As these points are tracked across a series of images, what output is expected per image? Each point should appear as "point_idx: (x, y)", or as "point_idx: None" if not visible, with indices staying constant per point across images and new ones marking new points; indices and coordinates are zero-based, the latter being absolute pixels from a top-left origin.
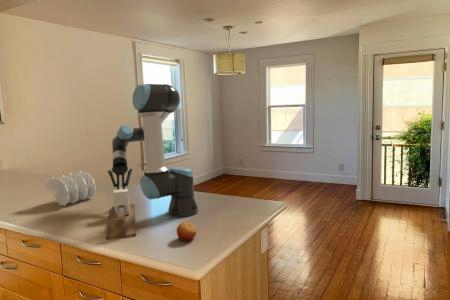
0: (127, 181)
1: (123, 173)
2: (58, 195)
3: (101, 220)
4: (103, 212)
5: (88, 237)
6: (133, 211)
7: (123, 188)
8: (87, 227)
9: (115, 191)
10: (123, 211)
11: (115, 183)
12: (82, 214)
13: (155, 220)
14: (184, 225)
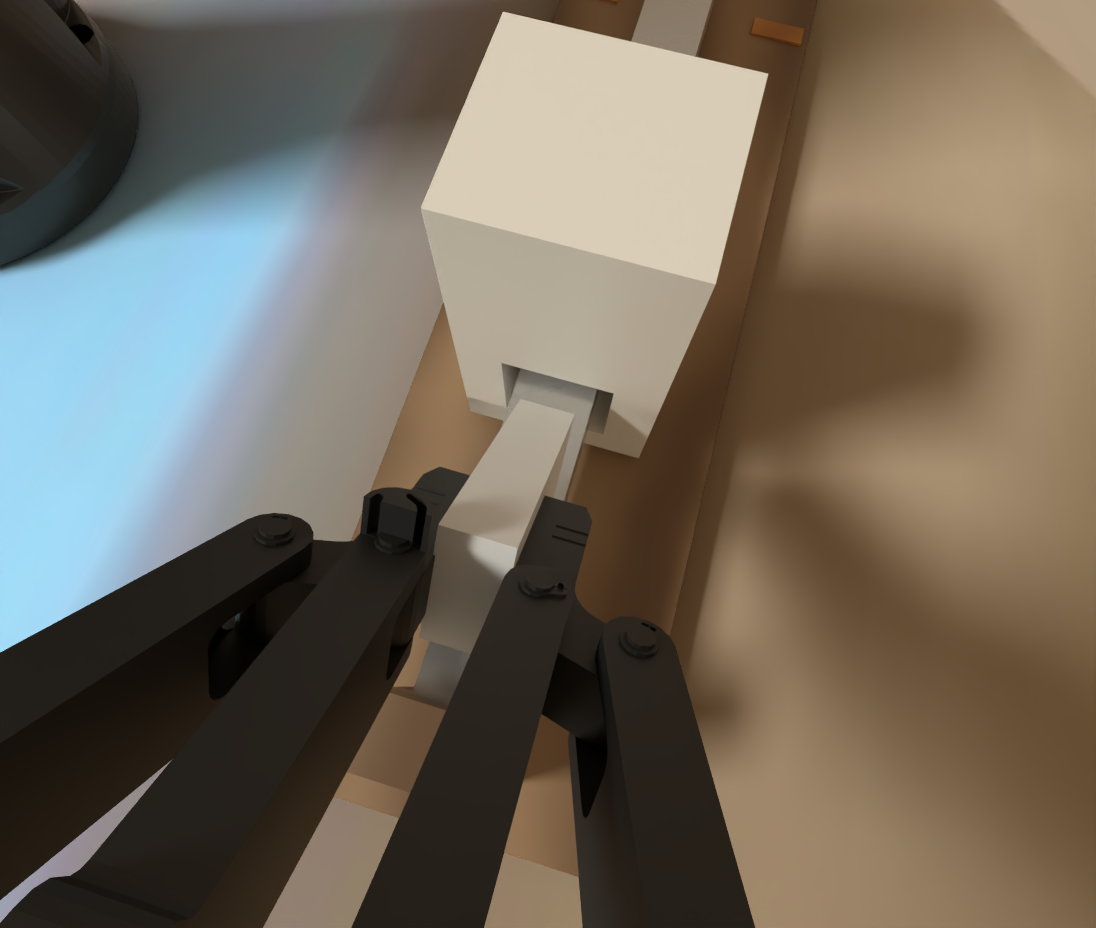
0: (223, 549)
1: (61, 892)
2: None
3: (816, 414)
4: (755, 749)
5: (958, 50)
6: (420, 410)
7: (435, 500)
8: (970, 283)
9: (713, 142)
10: (639, 37)
11: (605, 640)
12: (1052, 859)
13: (330, 91)
14: None
